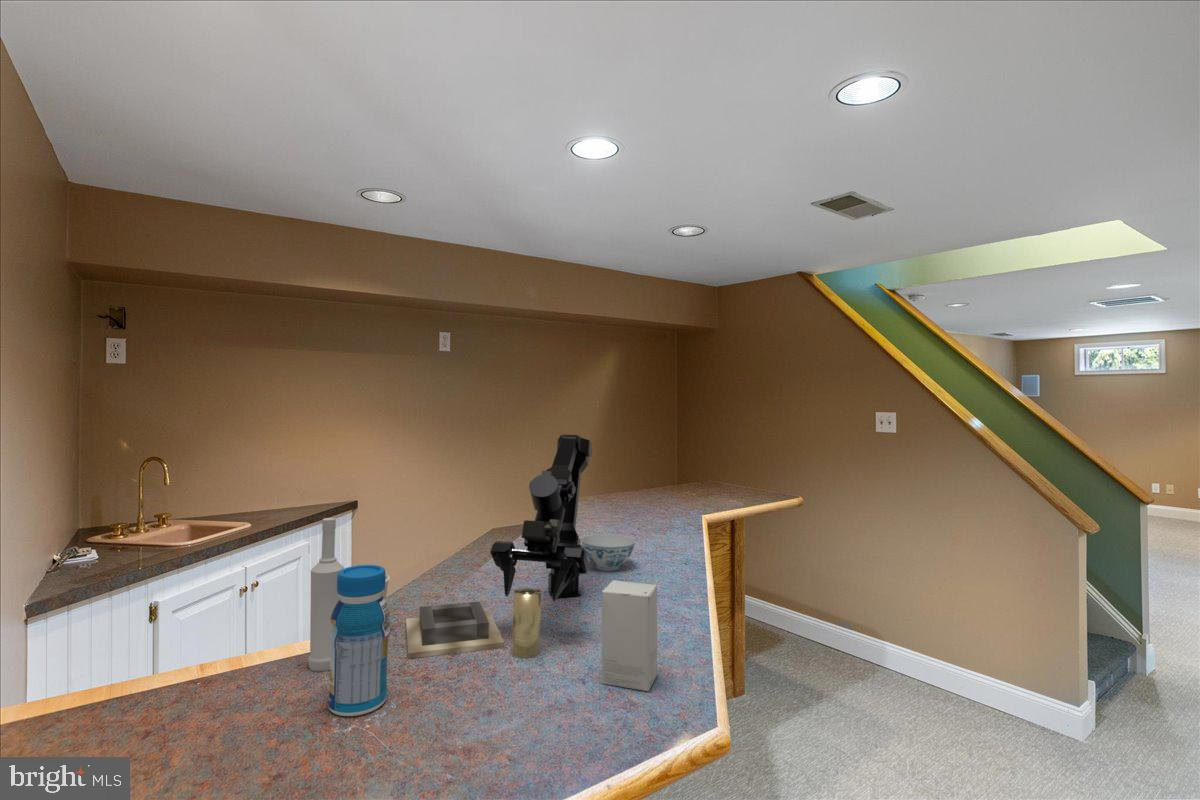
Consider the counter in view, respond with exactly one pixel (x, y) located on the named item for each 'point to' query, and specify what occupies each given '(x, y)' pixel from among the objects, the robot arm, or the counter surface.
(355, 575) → the beverage bottle
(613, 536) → the chinaware
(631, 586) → the skincare box
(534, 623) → the cylinder
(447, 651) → the jig plate
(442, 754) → the counter surface
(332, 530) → the bottle
